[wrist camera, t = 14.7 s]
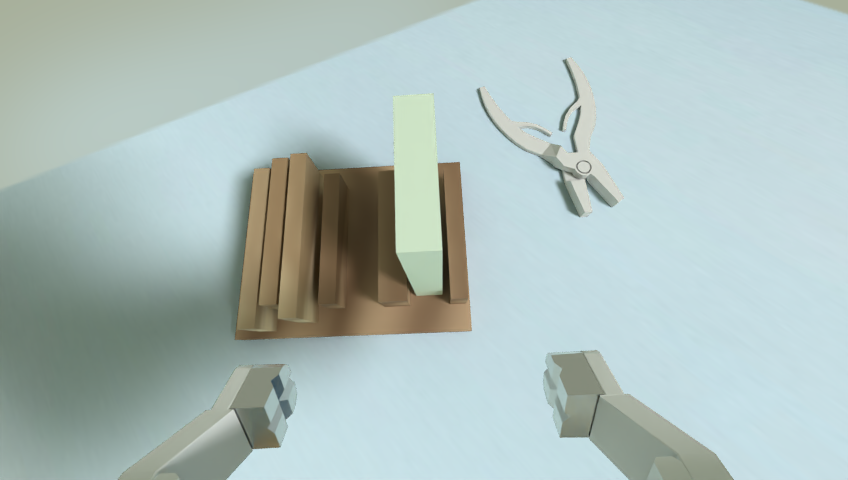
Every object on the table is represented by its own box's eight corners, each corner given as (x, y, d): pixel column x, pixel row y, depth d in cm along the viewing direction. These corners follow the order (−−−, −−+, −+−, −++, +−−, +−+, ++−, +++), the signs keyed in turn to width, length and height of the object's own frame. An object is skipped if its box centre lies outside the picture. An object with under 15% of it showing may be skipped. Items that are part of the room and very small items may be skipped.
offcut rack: (243, 340, 29) (196, 337, 23) (259, 179, 33) (223, 146, 28) (470, 331, 28) (477, 326, 23) (459, 168, 32) (462, 132, 27)
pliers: (576, 49, 34) (661, 186, 30) (571, 62, 36) (650, 194, 31) (478, 82, 33) (549, 226, 29) (476, 93, 35) (544, 233, 31)
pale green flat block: (416, 295, 28) (396, 252, 16) (413, 199, 30) (392, 95, 18) (442, 294, 28) (442, 250, 16) (437, 198, 30) (433, 93, 18)
